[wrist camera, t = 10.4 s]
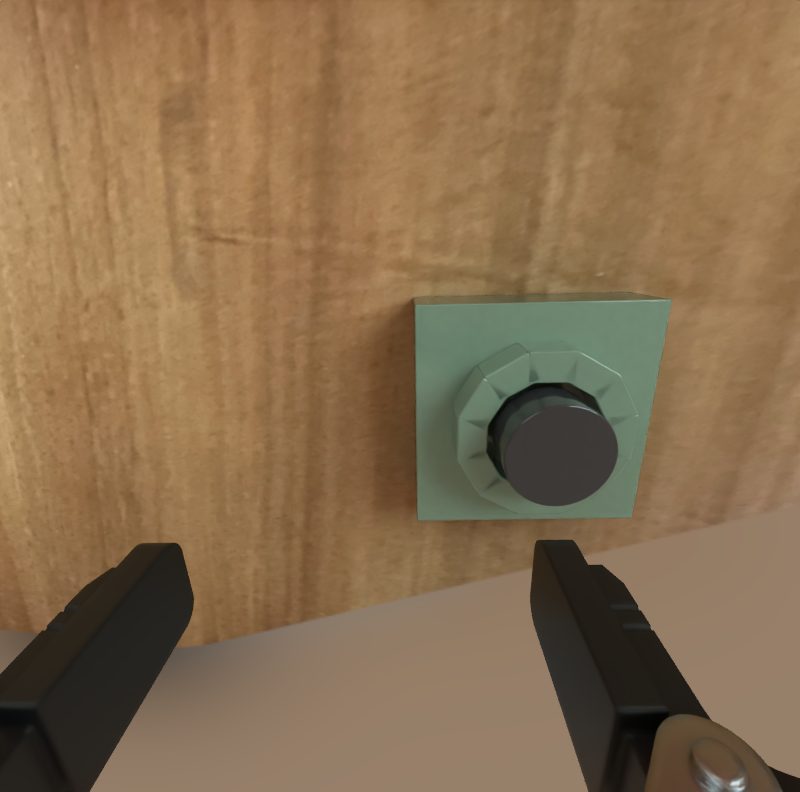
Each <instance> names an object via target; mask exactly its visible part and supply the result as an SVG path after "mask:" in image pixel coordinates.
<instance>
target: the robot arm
mask: <svg viewBox="0 0 800 792" xmlns="http://www.w3.org/2000/svg"><path fill="white" fill-rule="evenodd" d="M531 582H532V583H531V592H530V603H531V612H532V618H533V622H534V626H535V629H536V632H537V636H538V639H539V641H540V645H541V648H542V650H543V653H544V657H545V660H546V663H547V666H548V669H549V672H550V675H551V678H552V681H553V684H554V687H555V691H556V693H557V696H558V700H559V703H560V706H561V709H562V712H563V715H564V718H565V721H566V724H567V727H568V730H569V733H570V736H571V739H572V742H573V746H574V749H575V752H576V755H577V758H578V761H579V764H580V767H581V770H582V773H583V776H584V779H585V782H586V785H587V788H588V792H800V778H797V777H794V776H791V775H788V774H786V773H783V772H781V771H778V770H776V769H774V768H772V767H770V766H768V765H767V764H766V763H765V762H764V760H763V759H762V758H761V757H760V756H759V755H758V754H757V753H756V752H755V751H754V750H753V749H752V748H751V747H750V746H749V745H748V744H747V743H746V742H745V741H743V740H742V739H741V738H740V737H738V736H737V735H736V734H734V733H733V732H731V731H730V730H728V729H726V728H725V727H723V726H722V725H720V724H718V723H715V722H713V721H712V720H711V719H710V718H709V716H708V715H707V713H706V712H705V711H704V709H703V708H702V706H701V705H700V703H699V701H698V700H697V699H696V696H695V695H694V693H693V692H692V690H691V689H690V687H689V685H688V684H687V682H686V681H685V679H684V678H683V676H682V674H681V673H680V672H679V670H678V668H677V666H676V665H675V663H674V662H673V660H672V659H671V657H670V655H669V654H668V652H667V651H666V649H665V648H664V646H663V644H662V643H661V641H660V640H659V638H658V637H657V635H656V633H655V632H654V631H653V630H651V628H650V624H649V622H648V621H647V619H646V618H645V616H644V615H643V613H642V612H641V611H639V609H638V605H637V603H636V602H635V600H634V599H633V597H632V596H631V594H630V592H629V591H628V589H627V588H626V586H625V585H624V583H623V582H621V581H620V580H619V579H618V578H617V577H616V576H614V575H613V574H612V573H611V572H610V571H609V570H607V569H606V568H605V567H604V566H603V565H588V564H587V562H586V560H585V559H584V557H583V555H582V553H581V551H580V550H579V548H578V546H577V544H576V543H575V542H574V541H573V540H537V541H536V544H535V549H534V560H533V571H532V581H531ZM193 605H194V597H193V592H192V588H191V584H190V580H189V576H188V572H187V568H186V564H185V560H184V556H183V552H182V549H181V547H180V546H179V545H178V544H177V543H141V544H139V545H137V546H136V547H135V548H134V549H133V550H132V551H131V552H130V553H129V554H128V555H127V556H126V557H125V558H124V560H123V561H122V562H121V563H120V564H119V565H118V566H117V567H116V568H111V569H109V570H108V571H106V572H105V573H104V574H102V575H101V576H99V577H98V578H96V579H95V580H93V581H92V582H90V583H89V584H87V585H86V586H85V587H84V588H83V589H82V590H81V591H80V592H79V593H78V594H77V595H76V596H75V597H74V598H73V599H72V600H71V601H70V602H69V603H68V605H67V606H66V607H65V610H64V612H60V613H59V614H58V615H57V616H56V617H55V618H54V619H53V620H52V621H51V622H50V623H49V624H48V625H47V629H46V630H45V631H42V632H41V633H40V634H39V635H38V636H37V637H36V638H35V639H34V640H33V641H32V642H31V643H30V644H29V645H28V646H27V647H26V648H25V649H24V650H23V651H22V652H21V653H20V654H19V655H18V656H17V657H16V658H15V660H14V661H13V662H12V663H11V664H10V665H9V666H8V667H7V668H6V669H5V670H4V671H3V672H2V673H1V674H0V792H90V790H91V788H92V786H93V785H94V783H95V781H96V780H97V778H98V776H99V774H100V773H101V771H102V770H103V768H104V766H105V764H106V763H107V761H108V759H109V758H110V756H111V754H112V753H113V751H114V749H115V748H116V746H117V744H118V743H119V741H120V739H121V737H122V736H123V734H124V732H125V731H126V729H127V727H128V726H129V724H130V722H131V721H132V719H133V717H134V715H135V714H136V712H137V710H138V709H139V707H140V705H141V704H142V702H143V700H144V699H145V697H146V695H147V693H148V692H149V690H150V688H151V687H152V685H153V683H154V682H155V680H156V678H157V676H158V675H159V673H160V671H161V670H162V668H163V666H164V665H165V663H166V661H167V660H168V658H169V656H170V655H171V653H172V651H173V649H174V648H175V646H176V644H177V643H178V641H179V639H180V638H181V636H182V634H183V633H184V631H185V629H186V627H187V626H188V624H189V621H190V619H191V615H192V611H193Z"/></svg>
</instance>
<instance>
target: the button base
mask: <svg viewBox="0 0 800 792" xmlns="http://www.w3.org/2000/svg"><path fill="white" fill-rule="evenodd" d="M671 302H672V300H671V299H666V298H661V297H655V296H649V295H644V294H638V293H633V292H609V293H565V294H522V295H479V296H435V297H414V298H413V320H414V397H415V474H416V503H417V520H418V521H433V520H505V519H578V518H631V517H632V512H633V507H634V501H635V496H636V491H637V485H638V480H639V474H640V469H641V464H642V458H643V453H644V448H645V442H646V437H647V431H648V426H649V421H650V415H651V410H652V405H653V399H654V394H655V388H656V383H657V378H658V372H659V367H660V362H661V356H662V351H663V345H664V340H665V335H666V329H667V324H668V318H669V313H670V308H671ZM543 387H556V388H562V389H565V390H568V391H570V392H572V393H574V394H576V395H577V396H579V397H580V398H581V399H583V400H584V401H585V402H586V403H587V404H589V405H590V406H591V407H592V408H593V409H595V410H596V411H597V412H598V413H599V414H601V415H602V416H603V417H604V418H605V419H606V420H607V421H608V422H609V423H610V425H611V426H612V428H613V430H614V432H615V435H616V437H617V442H618V458H617V462H616V465H615V468H614V470H613V472H612V474H611V476H610V477H609V479H608V480H607V482H606V483H605V484H604V485H603V486H602V487H601V488H600V489H599V490H598V491H596V492H595V493H594V494H592V495H591V496H589V497H587V498H586V499H584V500H582V501H579V502H577V503H573V504H570V505H564V506H545V505H540V504H536V503H534V502H531V501H529V500H527V499H525V498H524V497H522V496H521V495H520V494H518V493H517V492H516V491H515V490H514V489H513V487H512V486H511V485H510V483H509V481H508V479H507V477H506V475H505V473H504V471H503V468H502V466H501V464H500V462H499V460H498V457H497V455H496V453H495V450H494V445H493V431H494V427H495V423H496V421H497V419H498V417H499V415H500V413H501V412H502V410H503V409H504V408H505V407H506V406H507V405H508V404H509V403H510V402H511V401H512V400H513V399H515V398H516V397H518V396H519V395H521V394H523V393H525V392H527V391H530V390H533V389H537V388H543Z"/></svg>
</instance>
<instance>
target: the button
mask: <svg viewBox="0 0 800 792" xmlns="http://www.w3.org/2000/svg"><path fill="white" fill-rule="evenodd" d="M493 445H494V450H495V453H496V455H497V457H498V460H499V462H500V464H501V466H502V468H503V471H504V473H505V475H506V477H507V479H508V481H509V483H510V485H511V486H512V487H513V489H514V490H515V491H516V492H517V493H518V494H520V495H521V496H522V497H524V498H525V499H527V500H529V501H531V502H534V503H536V504H540V505H545V506H564V505H570V504H573V503H577V502H579V501H582V500H584V499H586V498H587V497H589V496H591V495H592V494H594V493H595V492H596V491H598V490H599V489H600V488H601V487H602V486H603V485H604V484H605V483H606V482H607V480H608V479H609V477H610V476H611V474H612V472H613V470H614V468H615V465H616V462H617V458H618V442H617V437H616V435H615V432H614V430H613V428H612V426H611V425H610V423H609V422H608V421H607V420H606V419H605V418H604V417H603V416H602V415H601V414H599V413H598V412H597V411H596V410H595V409H593V408H592V407H591V406H590V405H589V404H587V403H586V402H585V401H584V400H583V399H581V398H580V397H579V396H577V395H576V394H574V393H572V392H570V391H568V390H565V389H562V388H556V387H543V388H537V389H533V390H530V391H527V392H525V393H523V394H521V395H519V396H518V397H516V398H515V399H513V400H512V401H511V402H510V403H509V404H508V405H507V406H506V407H505V408H504V409H503V410H502V412H501V413H500V415H499V417H498V419H497V421H496V423H495V427H494V431H493Z"/></svg>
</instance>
